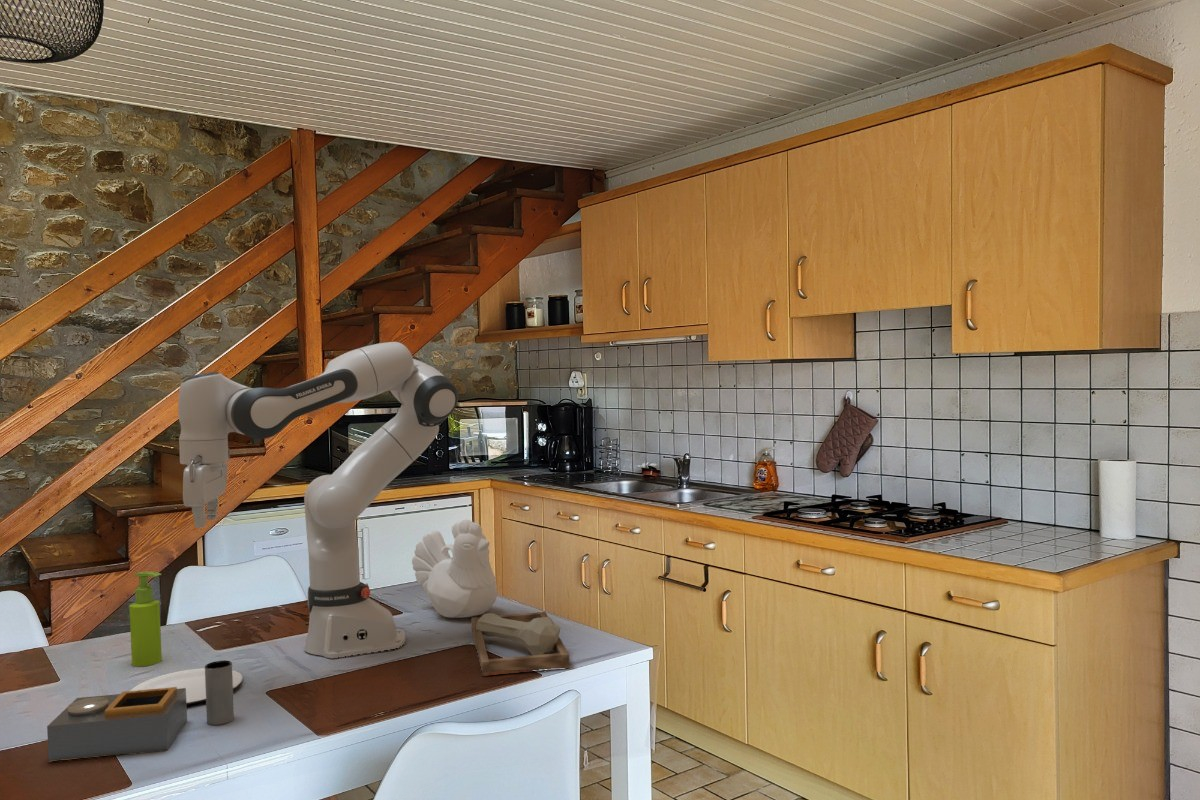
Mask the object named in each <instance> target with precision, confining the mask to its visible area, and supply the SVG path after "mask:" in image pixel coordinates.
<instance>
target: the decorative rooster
mask: <svg viewBox="0 0 1200 800" xmlns="http://www.w3.org/2000/svg"><path fill="white" fill-rule="evenodd" d="M451 533H452V535H453V539H454V542H453V544H452V543H448V544H446V542H445V540H444V537H443V535H442V534H441V532H440V531H438V530H431V531H429V532H428V533H426V534H424V536H422V539H421V540H420V541H418V542H417V544H416V546H415V549H414V555H413V557H412V559H411V565H412V569H413V571H414V576H415V579H416V580H415V581H416V583H417V584H419V586H422V589H423V590H424V592H425V593H427V595H428V599H429V601H430V602H431V605H432V607H433V608H434V610H435V611H436V612H437V613H438V614H439V615H441V616H443V617H445V618H450V619H451V618H452V619H454V618H456V619H457V618H460V619H461V618H470V617H471V618H472V617H476V616H479V615H484V614H486V612H487V611H488V610H490V609H491V608H492V607H493V606H494V604H495V603H496V601H497V598H498V587H497V580H496V576H495V574H494V571H493V569H492V566H491V563H490V549H489V547H490V541H489V540H487V538H486V536H485V534H484V533H483V528H482V526H481V524H479V523H478V522H473V521H472V520H469V519H464V520H461V521H460V522H459V521H458V522H455V523H454V524H453V525H452V526H451ZM449 551H450V552H451V553H452V554H451V555H452V557H451V555H450V553H449Z"/></svg>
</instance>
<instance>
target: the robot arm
mask: <svg viewBox="0 0 1200 800" xmlns="http://www.w3.org/2000/svg"><path fill="white" fill-rule="evenodd" d="M386 392H388V393H389V394H390V395H391V396H393V397H394V398H395V399H396V400H397V401H398V402H399V403H400V405H401V406H400V407H399V410H398V411H397V413H396V415H395V416H393V417H392V418H391V419H389V421H387V422H386V423H384V424H383V425H382V426H381V427H380V428H378V429H377V430H376V431H375V432H374V433H372V435H370V436H369V437H368V438H367V439H366V440H365V441H363V442H362V443H361V444H360V445H359V446H358V447H356V448H355V449H354V450H353V451H352V453H351V454H350V455H349V456H348V457H347V458H346V459H345V460H344V462H342V464H341V465H340V466H339V467H338V468H337V469H336V470H335V471H334V472H332V474H324V475H321V476H318V477H316V478H314V479H313V480H312V481H311V482H310V483H309V484H308V486H307V487H306V489H305V492H304V497H303V499H304V500H303V501H304V515H305V518H304V519H305V526H306V528H305V529H306V539H307V540H306V541H307V550H308V551H307V552H308V571H309V586H308V588H307V609H308V613H309V618H308V619H309V620H308V621H309V622H308V630H307V636H306V639H305V641H306V642H305V645H304V651H305V653H308V654H311V655H315V656H322V657H324V658H328V659H338V657H339V658H344V657H345V656H346V657H352V656H351V655H353V656H358V655H357V654H360V655H364V654H363V653H367V654H372V653H371V652H374V653H379V652H378V651H381V652H385V651H384V650H388V651H391V650H390V649H395V648H398V647H400V646H401V647H403V646H404V645H405V643H406V641H405V640H407V638H406V633H405V632H404V631H403V630H401V629H399V628H396V622H395V618H394V616H393V614H392V612H391V610H389V609H388V608H386V607H384V606H383V605H381V604H379V603H378V602H377V601H375V600H374V599H372V598H370V595H371V589H370V586H369V583H364V582H361V579H360V578H361V577H360V576H361V575H360V550H359V549H360V547H359V543H358V537H357V536H358V535H357V529H356V520H357V518H358V517H359V516H360V515H362V513H364V511H365V510H366V509H367V508H368V507H369V506H370V505H371V504H372V503H373V502H374V501H375V499H376V498H377V497H378V496H379V495H380V494H381V492H382V491H383V490H384V489H385V488H386V487H387V486H388V485H389V484H390V483H391V482H392V481H393V480H394V479H396V477H398V476H399V475H400V474H401V473H402V472H403V471H405V470H406V469H407V468H408V467H409V466H410V465H411V464H412V463H413V462H414V461H416V460H417V459H418V458H419V457H420V456H421V455H422V454H423V453H424V452H425V451H426V450H427V448H428V447H429V446H430V445H431V444H432V442H433V441H434V440H435V439H436V437H438V436H437V435H438V434H439V431H440V424H442V423H444V422H445V420H446V419H448V418H449V417H450V416H451V415H452V413H453V412H454V410H455V408H456V407H457V405H458V401H459V392H458V389H457V387H456V386H455V384H454V383H453V381H452V380H451V379H449V378H448V377H446V376H445V375H444V374H443V373H442V372H441V371H439V370H438V369H436V368H435V367H433V366H431V365H429V364H427V363H425V362H423V361H421V360H420V359H419V358H417V357H414V356H413V354H412V353H411V351H410V349H408V348H407V346H406V345H405V344H403V343H401V342H398V341H388V342H379V343H376V344H375V343H374V344H370V345H365V346H362V347H358V348H356V349H352V350H349V351H346V352H345V353H343V354H340V355H339V356H337V357H335V358H333V359H331V360H329V362H328V363H327V364H326V366H325V369H324V371H323V372H322V373H321V374H319V375H317V376H315V377H313V378H312V377H311V378H310V379H307V380H305V381H301V382H299V383H296V384H292V385H290V386H286V387H282V388H274V387H273V388H271V387H263V386H262V387H253V388H252V387H249V386H247V385H243V384H241V383H239V382H236V381H234V380H232V379H230V378H228V377H227V376H224V374H222V372H218V371H210V372H204V373H198V374H193V375H189V376H187V377H186V378H185V379H183V381H181V383H180V386H179V392H178V400H177V401H178V407H177V409H178V410H177V412H178V420H179V423H180V433H179V437H178V441H179V443H178V444H179V445H178V446H179V463H180V464H181V465H186V467H185V468H184V469H183V476H182V477H183V478H182V501H183V505H184V507H186V508H187V507H190V508H191V512H192V516H193V520H194V527H195V528H196V529H198V528H204V527H205V526H207V520H209V521H213V520H216V519H217V518H218V508H219V507H218V506H219V502H220V500H219V497H220V496H222V495H224V494H225V493H226V489H227V481H228V480H227V478H228V462H229V459H230V458H231V454H230V452H231V451H230V450H231V449H230V448H229V441H228V440H229V439H228V436H229V434H230V433H237V434H241V435H243V436H247V437H249V438H252V439H257V440H264V439H269V438H273V437H275V436H276V435H277V434H279V433H280V432H281V431H283V429H285V428H286V427H287V426H288V425H289V424H290V423H291V422H293V420H294V421H295V420H296V419H297V418H299V417H302V416H304V415H307V414H309V413H313V412H315V411H317V410H320V409H322V408H325V407H327V406H331V405H334V404H345V403H353V402H354V403H355V402H358V401H362V400H366V399H369V398H373V397H376V396H378V395H381V394H383V393H386ZM205 510H206V511H205ZM404 642H405V643H404ZM403 644H404V645H403ZM402 645H403V646H402ZM401 647H400V648H401ZM398 649H399V648H398ZM395 650H396V649H395ZM346 657H345V658H346Z"/></svg>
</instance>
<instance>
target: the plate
mask: <svg viewBox="0 0 1200 800" xmlns="http://www.w3.org/2000/svg"><path fill="white" fill-rule="evenodd" d="M232 678H233V690H234V689H236V688H237V687H238V686H239V685H241V684H242V682H243V680H244V679H243V678H244V677H243V676H242V673H240V672H239V671H236V670H234V669H232ZM171 687H177V689H181V688H186V703H187V705H191V704H196V703H197V704H198V703H200V702H206V687H205V667H203V668H202V667H201V668H193V669H192V668H191V669H185V670H180V671H174V672H170V673H166V674H163V675H159V676H155V677H152V678H150V679H147V680H145V681H143V682H141V683H139V684H137V685H136V686H134V687H133V688H131V689H130V690H129V691H137V690H148V689H159V688H171Z"/></svg>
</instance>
